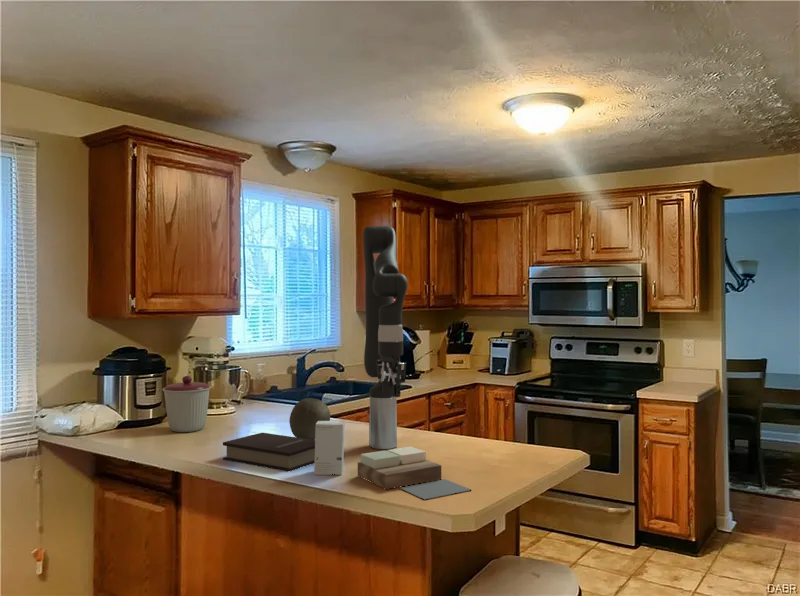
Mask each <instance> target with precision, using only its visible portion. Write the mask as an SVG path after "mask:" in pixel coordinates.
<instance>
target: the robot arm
mask: <svg viewBox="0 0 800 596" xmlns="http://www.w3.org/2000/svg"><path fill="white" fill-rule="evenodd" d="M362 234H363V236H362V241H363V256H364V257H363V259H364V274H365V277H364V278H365V284H364V286H365V289H364V290H365V292H364V297H365V298H364V301H365V302H364V303H365V305H364V306H365V307H364V308H365V341H364V342H365V344H364V355H363V363H364V369H365V372H366V374H367V376H369V377H370V378H377V379H378V380H379V381H378V382H377V383H376V384H375V385H372V386H371V387H370V389H369V418H368V437H369V438H368V439H369V441H368V443H369V447H370V448H371V447H372V449H375V450H391V449H396V446H398V431H397V430H398V426H397V424H398V422H397V419H398V417H397V413H398V412H397V398H400V397H401V385H402V384H403V383H405V382H406V377H407V376H406V375H407V374H406V373H407V362H401V357H402V356H403V355H404V331H403V330H404V329H403V328H404V327H403V309H404V308H403V306H404V301H405V297H406V293H407V291H408V287H409V286H408V285H409V282H408V279H407V277H406V276H405V274H403V273H399V267H398V262H397V250H398V249H397V236H396V235H397V234H396V231H395V229H394V228H393V227H392V226H389V225H388V226H386V225H385V226H384V225H382V226H381V225H380V226H378V225H377V226H374V225H373V226H366V227H364V228H363V233H362ZM374 254H378V256H377V257H376V259H375V258H374ZM393 298H395V299H394V301H393Z"/></svg>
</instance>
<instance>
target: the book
mask: <svg viewBox="0 0 800 596" xmlns="http://www.w3.org/2000/svg"><path fill="white" fill-rule="evenodd" d="M222 446H225V447H226V456H224V457H222V460H223V461H229V462H235V463H238V464H239V463H241V464H244V463H245V465H251V466H255V465H257V466H256V467H260V468H266V467H267V468H266V469H273V470H278V471H282V470H283V472H288V471H290V472H292V470H293V471H295V469H296V470H299V469H301V468H300V467H302V468H304V467H303V466H305V467H307V465H308V466H310V464H311V465H314V464H313V463H314V460H315V439H314V440H311V439H304V438H297V437H295V436H289V435H283V434H281V435H280V434H277V433H270V432H269V433H267V432H257V433H254V434H251V435H247V436H243V437H239V438H234V439H231V440H227V441H223V442H222ZM298 468H299V469H298Z"/></svg>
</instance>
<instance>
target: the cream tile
mask: <svg viewBox="0 0 800 596" xmlns="http://www.w3.org/2000/svg"><path fill="white" fill-rule="evenodd" d="M387 451H388V452H390V453H393V454H396V455H398V456H399V463H400V464H407V463H413V462H419V461H425V460H427V452H426V451H425V450H422V449H419V448H416V447H414V446H405V447H399V448H391V449H387Z"/></svg>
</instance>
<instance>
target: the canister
mask: <svg viewBox="0 0 800 596" xmlns="http://www.w3.org/2000/svg"><path fill="white" fill-rule="evenodd" d="M181 379H182V382H177V383H176V382H175V383H170V384H168V385H166V386H165V387H163V388H162V391H163V392H164V393H163V394H164V401H165V409H166V417H167V423H168V427H169V429H170V430H171V431H172V432H175V433H193V432H196V431H201V430H203V429H204V428H205V427H206V422H207V418H208V409H209V399H210V390H211V389H212V385H209V384H208V383H206V382H199V381H192V380H193V378H192V377H191V376H190V375H185V376H183V377H182V378H181Z"/></svg>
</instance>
